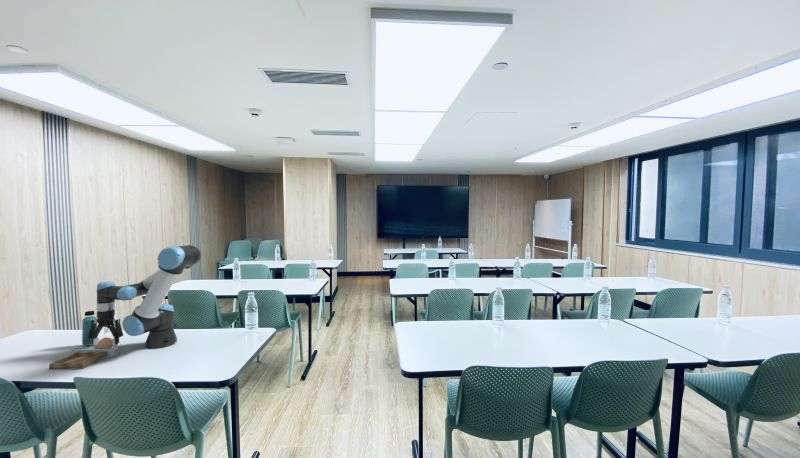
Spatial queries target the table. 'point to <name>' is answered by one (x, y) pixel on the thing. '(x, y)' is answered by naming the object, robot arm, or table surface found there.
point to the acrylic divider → (109, 351)
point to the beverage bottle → (87, 327)
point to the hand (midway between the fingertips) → (105, 349)
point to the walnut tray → (78, 360)
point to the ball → (105, 343)
